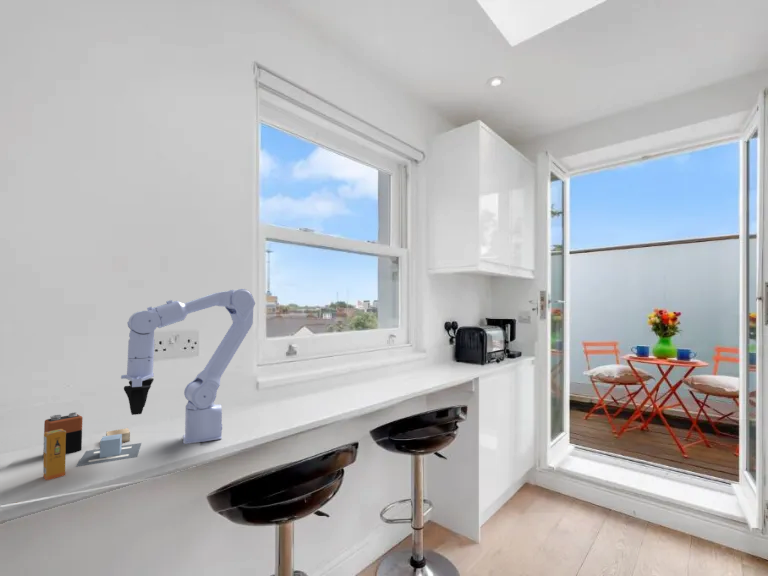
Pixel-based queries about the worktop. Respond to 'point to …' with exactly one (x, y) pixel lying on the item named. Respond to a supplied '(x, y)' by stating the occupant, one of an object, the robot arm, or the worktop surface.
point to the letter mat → (125, 453)
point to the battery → (67, 430)
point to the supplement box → (54, 454)
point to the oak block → (124, 433)
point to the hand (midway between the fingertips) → (138, 410)
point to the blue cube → (110, 445)
